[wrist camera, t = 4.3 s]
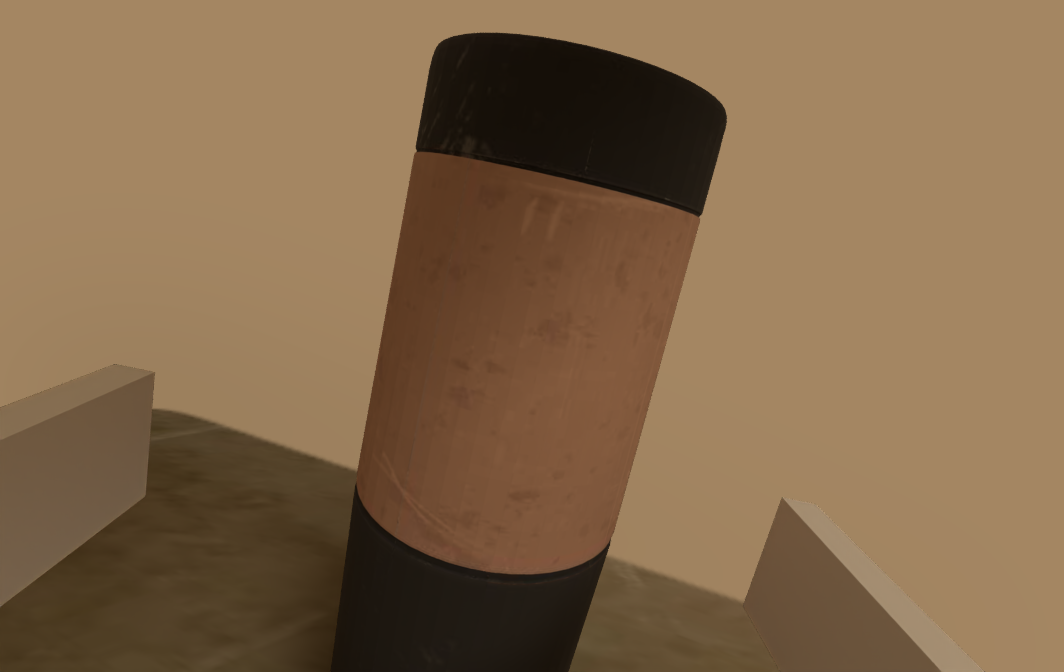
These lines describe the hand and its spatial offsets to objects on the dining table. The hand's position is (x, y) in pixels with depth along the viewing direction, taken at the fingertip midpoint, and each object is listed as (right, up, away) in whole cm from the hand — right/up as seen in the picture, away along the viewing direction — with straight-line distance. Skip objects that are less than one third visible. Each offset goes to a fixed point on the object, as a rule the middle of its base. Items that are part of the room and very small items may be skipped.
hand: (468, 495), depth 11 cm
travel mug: (-2, -10, +7) cm, 12 cm away
